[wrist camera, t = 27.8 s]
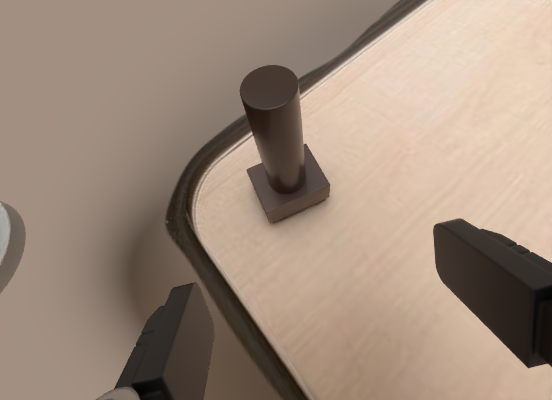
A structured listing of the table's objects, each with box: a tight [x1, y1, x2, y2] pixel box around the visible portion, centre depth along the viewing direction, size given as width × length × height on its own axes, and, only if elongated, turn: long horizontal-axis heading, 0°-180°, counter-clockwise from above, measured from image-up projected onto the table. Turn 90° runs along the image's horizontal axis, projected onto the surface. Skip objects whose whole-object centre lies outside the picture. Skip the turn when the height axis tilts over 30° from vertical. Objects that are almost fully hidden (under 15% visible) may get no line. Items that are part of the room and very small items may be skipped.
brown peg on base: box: [240, 65, 330, 223], centre depth 19 cm, size 5×4×12 cm
